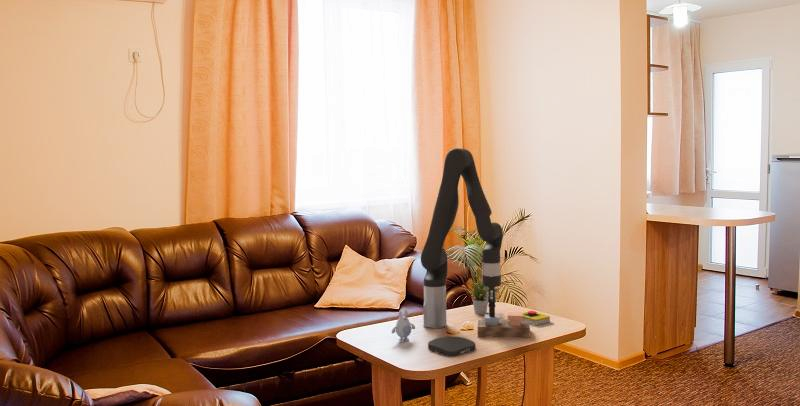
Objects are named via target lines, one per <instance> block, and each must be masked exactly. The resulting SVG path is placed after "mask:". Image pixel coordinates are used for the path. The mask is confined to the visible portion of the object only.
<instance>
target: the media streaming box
mask: <svg viewBox="0 0 800 406" xmlns="http://www.w3.org/2000/svg"><path fill="white" fill-rule="evenodd" d="M427 346H428V347H427V348H428V350H429V351H430V352H433V353H436V354H438V355H441V356H444V357H453V358H454V357H459V356H462V355H465V354H469V353H471V352H474V351H476V348H477V347H476V343H475V342H474V341H473V340H471V339H469V338H466V337H462V336H441V337H437V338H435V339H432V340H430V341H429V342H428V343H427Z"/></svg>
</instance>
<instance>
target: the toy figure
mask: <svg viewBox="0 0 800 406" xmlns="http://www.w3.org/2000/svg"><path fill="white" fill-rule="evenodd" d="M398 315H399V317H398V319H397V321H396V324H395V326H394V327H393V328H392V329H391V334H392V335H393V334H394V333H396V335H397V336H398V337H399V339H398V341H399V343H403V342H408V341H410V338H408V337H409V336H411V333H412V330H415V329H416V326H415V324H413V323H411V322H410V319H409V317H408V316H407V315H408V310H406V309H405V310H404V311H403V312H402V311H401V310H400V311H399V312H398Z"/></svg>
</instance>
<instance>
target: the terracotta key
mask: <svg viewBox="0 0 800 406" xmlns="http://www.w3.org/2000/svg"><path fill="white" fill-rule="evenodd" d="M522 313H523V312H522V311H507V320H509V326H521V320H522Z"/></svg>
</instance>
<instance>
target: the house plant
mask: <svg viewBox="0 0 800 406" xmlns="http://www.w3.org/2000/svg"><path fill="white" fill-rule="evenodd" d="M479 279H480V278H479V277H478V276H477V283H475V282H474V281H473V280H472V279H469V280H470V282H471V283H469V286H471V288H472V289H473V290H471V291H470V290H469V291H467V293H471V294H473V295H474V297H473V298H472V304H473V311H474V314H475V315H485V314H487V311H488V305H489V302H488V301H487V297H485V296H486V295H487V289H489V287H486V286H483V285H482V281H480V280H479Z"/></svg>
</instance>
